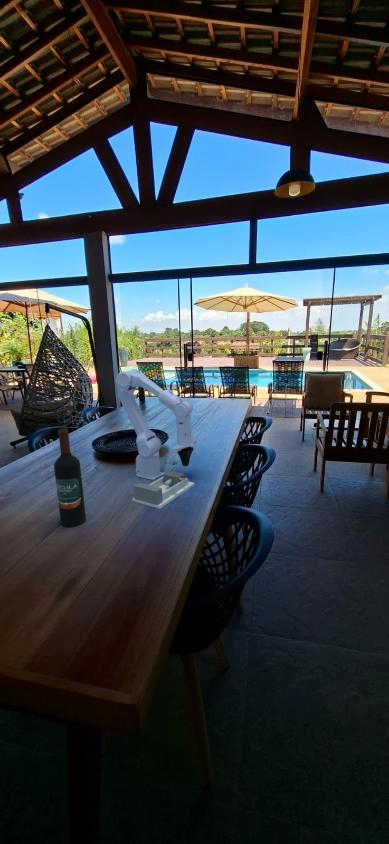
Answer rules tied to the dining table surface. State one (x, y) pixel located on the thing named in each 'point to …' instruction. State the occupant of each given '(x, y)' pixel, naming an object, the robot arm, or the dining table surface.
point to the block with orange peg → (172, 478)
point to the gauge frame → (159, 492)
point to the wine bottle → (69, 484)
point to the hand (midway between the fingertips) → (185, 465)
